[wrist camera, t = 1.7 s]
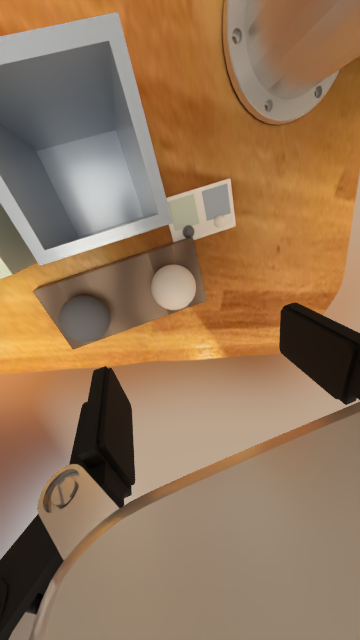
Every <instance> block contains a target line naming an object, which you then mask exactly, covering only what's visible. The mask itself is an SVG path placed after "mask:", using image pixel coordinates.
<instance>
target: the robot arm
mask: <svg viewBox="0 0 360 640" xmlns="http://www.w3.org/2000/svg"><path fill="white" fill-rule="evenodd" d="M223 43H224V54H225V59H226V64H227V69H228V73H229V76H230V79H231V82H232V85H233V88H234V89H235V91H236V93H237V95H238V97H239V99H240V101H241V102H242V104H243V105H244V106H245V108H246V109H247V110H248V111H249V112H250V113H251V114H252V115H253V116H255V117H256V118H257V119H259V120H261V121H263V122H265V123H268V124H275V125H279V124H286V123H289V122H292V121H294V120H296V119H298V118H300V117H301V116H303V115H305V114H306V113H308V112H309V111H310V110H311V109H313V108H314V107H315V106H316V105H317V104H318V103H319V102H320V101H321V100H322V98H323V97H324V96H325V95H326V93H327V92H328V91H329V89H330V87H331V86H332V84H333V82H334V81H335V79H336V77H337V75H338V73H339V71H340V69H341V68H342V67H344V66H345V65H347V64H348V63H350V62H351V61H353V60H354V59H355V58H357V57H358V56H360V0H225V1H224V8H223ZM280 351H281V353H282V354H283V355H284V356H285V357H287V358H288V359H289V360H290V361H291V362H292V363H294V364H295V365H296V366H297V367H298V368H300V369H301V370H302V371H303V372H304V373H305V374H306V375H308V376H309V377H310V378H312V380H314V381H315V382H316V383H317V384H318V385H320V386H321V387H322V388H323V389H324V390H325V391H327V392H328V393H329V394H330V395H331V396H333V397H334V398H335V399H339V400H340V401H342V402H343V403H344V404H345V405H347V404H349V403H352V402H354V401H356V398H358V399H359V400H360V333H358V332H356V331H354V330H352V329H350V328H348V327H346V326H344V325H342V324H339V323H337V322H335V321H333V320H331V319H329V318H327V317H325V316H323V315H321V314H319V313H317V312H315V311H312V310H310V309H308V308H306V307H304V306H302V305H300V304H298V303H291V304H288V305H286V306H284V307H283V309H282V310H281V321H280ZM134 483H135V468H134V446H133V426H132V409H131V404H130V402H129V400H128V398H127V396H126V394H125V393H124V391H123V389H122V387H121V385H120V383H119V381H118V379H117V377H116V375H115V373H114V372H113V370H112V368H109V369H108V368H107V367H106V366H105V367H102V368H99V369H96V370H94V372H93V376H92V381H91V387H90V392H89V397H88V402H85V403H84V404H83V405H82V408H81V413H80V418H79V422H78V427H77V432H76V437H75V441H74V446H73V450H72V455H71V460H70V464H69V465H67V466H65V467H63V468H62V469H60V470H59V471H58V472H56V473H55V474H54V475H53V476H52V477H51V478H50V480H49V481H48V482H47V484H46V485H45V487H44V489H43V490H42V492H41V495H40V498H39V501H38V508H37V509H38V513H39V514H38V515H37V516H36V517H35V518H34V520H33V521H32V522H31V523H30V525H29V526H28V527H27V528H26V530H25V531H24V532H23V533H22V534H21V535H20V537H19V538H18V539H17V541H16V542H15V543H14V544H13V545H12V546H11V548H10V549H9V550H8V551H7V553H6V554H5V555H4V556H3V558H2V559H1V560H0V640H360V402H358V403H356V404H354V405H351V406H349V407H346V408H344V409H342V410H339V411H337V412H334V413H332V414H330V415H327V416H325V417H322V418H320V419H318V420H315V421H313V422H310V423H308V424H306V425H303V426H301V427H298V428H296V429H294V430H291V431H289V432H287V433H284V434H282V435H279V436H277V437H275V438H272V439H270V440H268V441H265V442H263V443H261V444H258V445H256V446H254V447H251V448H249V449H246V450H244V451H242V452H239V453H237V454H235V455H232V456H230V457H228V458H225V459H223V460H221V461H219V462H216V463H214V464H212V465H209V466H207V467H204V468H202V469H200V470H197V471H195V472H193V473H191V474H188V475H186V476H184V477H182V478H180V479H177V480H175V481H173V482H171V483H169V484H166V485H164V486H162V487H159V488H157V489H155V490H153V491H151V492H149V493H147V494H145V495H143V496H141V497H139V498H137V499H135V500H133V501H131V502H129V503H128V504H126V505H125V506H124V498H125V497H128V496H130V495H131V485H134Z"/></svg>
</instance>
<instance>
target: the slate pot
mask: <svg viewBox="0 0 360 640" xmlns="http://www.w3.org/2000/svg"><path fill="white" fill-rule="evenodd" d="M0 203H1V205H2V206H3V208H4V209H5V211H6V213H7V214H8V216H9V217H10V219H11V221H12V222H13V224H14V225H15V227H16V229H17V230H18V232H19V233H20V235H21V237H22V238H23V240H24V241H25V243H26V244H27V246H28V248H29V249H30V251H31V252H32V254H33V256H34V257H35V259H36V260H37V262H38V264H39V265H40V266H41V265H44V264H47V263H51V262H54V261H57V260H60V259H63V258H66V257H69V256H72V255H75V254H79V253H82V252H85V251H88V250H91V249H94V248H97V247H100V246H103V245H106V244H110V243H113V242H116V241H119V240H122V239H125V238H128V237H131V236H134V235H138V234H141V233H144V232H147V231H150V230H153V229H156V228H159V227H162V226H165V225H169V224H172V219H171V215H170V211H169V207H168V203H167V199H166V196H165V192H164V188H163V184H162V180H161V176H160V172H159V169H158V165H157V161H156V157H155V153H154V149H153V146H152V142H151V138H150V134H149V130H148V126H147V122H146V119H145V115H144V111H143V107H142V103H141V99H140V95H139V92H138V88H137V84H136V80H135V76H134V72H133V68H132V65H131V61H130V57H129V53H128V49H127V45H126V41H125V38H124V34H123V30H122V26H121V22H120V18H119V14H118V12H115V13H110V14H105V15H101V16H96V17H91V18H86V19H82V20H77V21H72V22H67V23H63V24H58V25H53V26H48V27H44V28H39V29H34V30H30V31H25V32H20V33H15V34H11V35H6V36H1V37H0Z"/></svg>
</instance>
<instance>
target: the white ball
mask: <svg viewBox="0 0 360 640" xmlns="http://www.w3.org/2000/svg"><path fill="white" fill-rule="evenodd" d="M151 292H152V295H153V298H154V299H155V301H156V302H157V303H158V304H159V305H160V306H162V307H163V308H165V309H169V310H179V309H182V308H184V307H186V306H187V305H188V304H189V303H190V302H191V301H192V300H193V298H194V296H195V292H196V282H195V279H194V277H193V275H192V274H191V272H190V271H189V270H188V269H186V268H185V267H183V266H180V265H167V266H164V267H162V268H161V269H159V270H158V271H157V272H156V274H155V275H154V277H153V279H152V282H151Z"/></svg>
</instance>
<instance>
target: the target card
mask: <svg viewBox="0 0 360 640" xmlns="http://www.w3.org/2000/svg"><path fill="white" fill-rule="evenodd" d="M166 199H167V203H168V207H169V211H170V215H171V219H172V224H169V228H170V232H171V236H172V239H173V242H176V241H179V240H182V239H185V238H190V237H191V238H193V240H196V239H199V238H202V237H205V236H208V235H211V234H214V233H217V232H220V231H223V230H226V229H229V228H232V227H235V226H236V223H235V214H234V205H233V197H232V188H231V179H230V178H229V179H226V180H223V181H219V182H216V183H213V184H210V185H206V186H203V187H200V188H197V189H193V190H190V191H187V192H184V193H180V194H177V195H174V196H171V197H167V198H166Z"/></svg>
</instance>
